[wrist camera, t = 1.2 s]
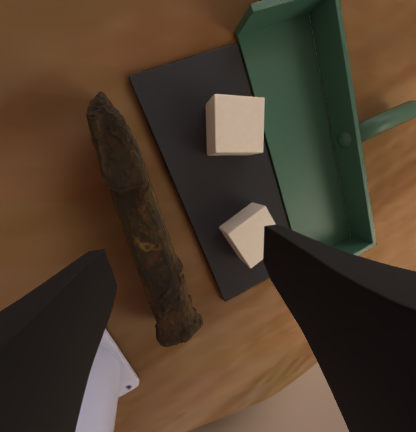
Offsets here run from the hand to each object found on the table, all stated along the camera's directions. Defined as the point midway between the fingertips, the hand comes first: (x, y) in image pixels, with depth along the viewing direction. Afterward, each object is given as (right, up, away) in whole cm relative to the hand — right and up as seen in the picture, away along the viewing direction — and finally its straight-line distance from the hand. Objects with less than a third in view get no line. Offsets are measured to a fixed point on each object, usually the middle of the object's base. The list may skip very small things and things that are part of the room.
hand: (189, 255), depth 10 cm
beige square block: (+4, 0, +10) cm, 11 cm away
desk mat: (+3, +4, +10) cm, 11 cm away
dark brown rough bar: (-5, +1, +8) cm, 10 cm away
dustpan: (+14, +10, +12) cm, 21 cm away
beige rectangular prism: (+3, +9, +8) cm, 12 cm away
